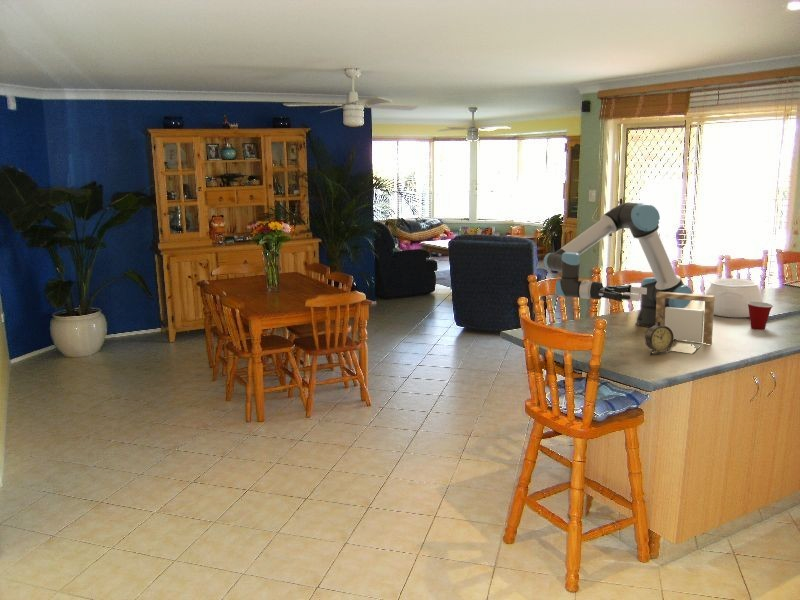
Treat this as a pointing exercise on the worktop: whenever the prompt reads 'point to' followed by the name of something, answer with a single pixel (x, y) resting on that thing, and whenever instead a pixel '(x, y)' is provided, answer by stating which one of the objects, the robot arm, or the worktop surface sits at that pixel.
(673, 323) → the door
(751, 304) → the plastic cup
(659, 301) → the door frame
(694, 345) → the pad
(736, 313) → the white pet bowl
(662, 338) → the alarm clock
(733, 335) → the worktop surface
